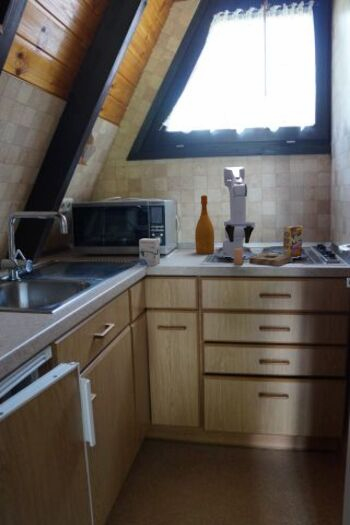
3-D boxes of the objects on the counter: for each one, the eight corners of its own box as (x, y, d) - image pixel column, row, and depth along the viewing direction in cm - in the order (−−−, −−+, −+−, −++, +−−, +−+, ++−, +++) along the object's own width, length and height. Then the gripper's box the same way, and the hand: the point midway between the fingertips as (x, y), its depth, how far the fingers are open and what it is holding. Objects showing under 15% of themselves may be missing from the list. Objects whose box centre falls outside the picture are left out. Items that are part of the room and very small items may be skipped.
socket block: (249, 263, 193) (249, 257, 193) (263, 258, 204) (263, 253, 204) (278, 266, 185) (278, 260, 185) (291, 260, 196) (291, 255, 195)
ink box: (139, 264, 198) (138, 239, 195) (143, 262, 202) (142, 238, 200) (156, 265, 195) (155, 240, 193) (160, 263, 200) (159, 238, 197)
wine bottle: (217, 252, 225) (217, 194, 219) (208, 255, 217) (208, 195, 211) (201, 250, 230) (200, 194, 224) (192, 253, 222) (190, 195, 216)
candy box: (289, 260, 197) (290, 227, 195) (282, 259, 201) (282, 226, 198) (302, 257, 202) (303, 225, 199) (295, 256, 206) (295, 225, 203)
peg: (232, 264, 191) (231, 249, 190) (236, 263, 194) (236, 248, 193) (239, 265, 189) (239, 250, 187) (244, 264, 192) (244, 248, 190)
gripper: (220, 212, 188) (220, 242, 191) (250, 213, 180) (249, 244, 182) (228, 211, 194) (228, 240, 196) (257, 211, 185) (257, 242, 188)
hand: (239, 242), depth 190 cm, fingers open, 7 cm apart
